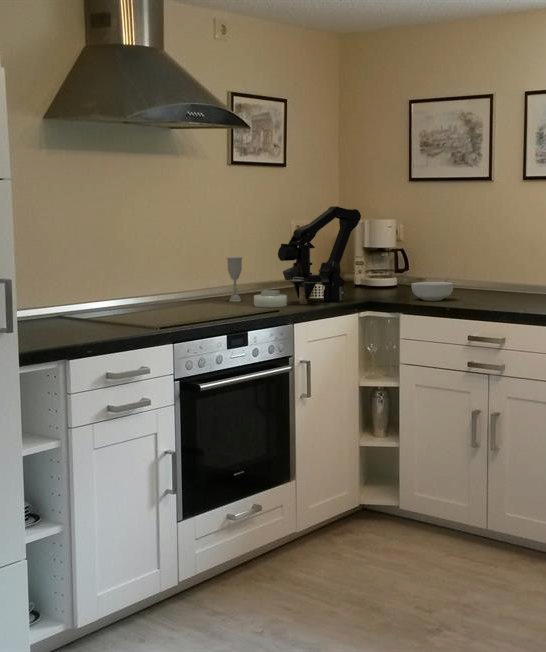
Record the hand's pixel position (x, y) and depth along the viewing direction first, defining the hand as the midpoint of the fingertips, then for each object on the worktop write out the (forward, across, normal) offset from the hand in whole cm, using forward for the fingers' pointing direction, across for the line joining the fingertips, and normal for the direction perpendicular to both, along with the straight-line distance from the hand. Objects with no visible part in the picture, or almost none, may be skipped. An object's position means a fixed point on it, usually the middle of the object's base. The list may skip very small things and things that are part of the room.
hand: (303, 299), depth 385 cm
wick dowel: (+2, 0, 0) cm, 2 cm away
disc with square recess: (+2, -1, -15) cm, 15 cm away
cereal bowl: (+2, +19, +51) cm, 54 cm away
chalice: (+2, -26, -17) cm, 31 cm away
